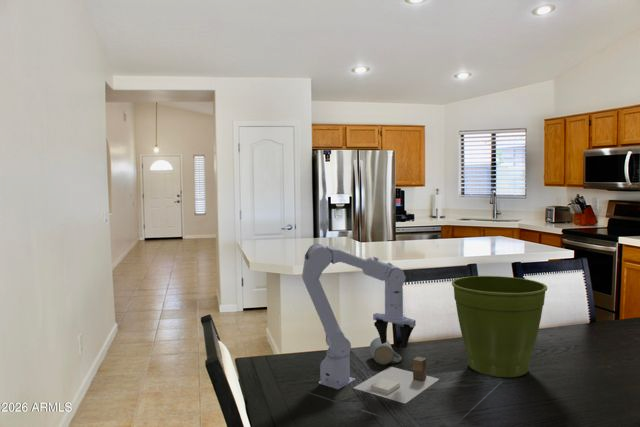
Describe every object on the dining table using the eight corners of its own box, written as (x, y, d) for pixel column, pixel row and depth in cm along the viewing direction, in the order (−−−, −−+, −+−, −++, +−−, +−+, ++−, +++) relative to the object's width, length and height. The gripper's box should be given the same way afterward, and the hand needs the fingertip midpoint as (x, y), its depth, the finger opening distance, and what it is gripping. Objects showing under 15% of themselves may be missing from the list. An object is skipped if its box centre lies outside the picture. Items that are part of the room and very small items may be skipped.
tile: (400, 386, 152) (388, 394, 146) (383, 382, 155) (370, 389, 150) (400, 382, 152) (388, 390, 146) (383, 378, 155) (370, 385, 150)
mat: (405, 404, 140) (405, 403, 140) (352, 389, 151) (352, 387, 151) (439, 380, 157) (439, 378, 157) (390, 367, 168) (390, 366, 168)
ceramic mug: (373, 366, 170) (373, 344, 169) (369, 358, 178) (369, 337, 178) (404, 365, 171) (404, 343, 170) (398, 357, 179) (398, 336, 178)
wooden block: (421, 381, 155) (421, 361, 155) (413, 379, 157) (413, 359, 157) (426, 378, 158) (426, 358, 157) (417, 376, 159) (417, 356, 159)
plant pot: (551, 391, 148) (552, 295, 146) (448, 379, 157) (448, 290, 156) (541, 357, 176) (542, 277, 174) (454, 349, 185) (454, 273, 184)
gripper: (420, 304, 158) (420, 346, 159) (381, 298, 167) (381, 337, 168) (409, 308, 152) (409, 352, 153) (369, 302, 161) (369, 343, 162)
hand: (394, 345), depth 160 cm, fingers open, 7 cm apart
